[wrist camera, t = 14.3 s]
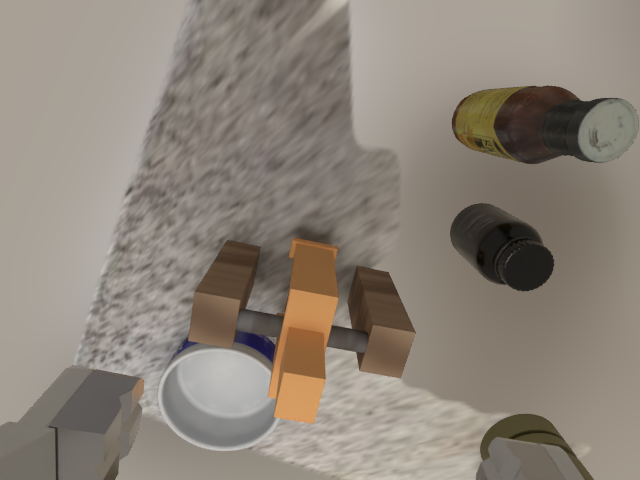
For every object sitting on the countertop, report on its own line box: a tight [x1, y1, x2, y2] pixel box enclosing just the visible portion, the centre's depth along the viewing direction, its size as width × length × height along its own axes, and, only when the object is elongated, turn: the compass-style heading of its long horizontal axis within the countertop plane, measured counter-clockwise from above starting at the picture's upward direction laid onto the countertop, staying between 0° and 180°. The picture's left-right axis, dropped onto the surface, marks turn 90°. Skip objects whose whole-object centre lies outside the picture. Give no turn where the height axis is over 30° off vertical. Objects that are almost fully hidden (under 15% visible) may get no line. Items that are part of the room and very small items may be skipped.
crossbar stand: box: [188, 240, 416, 378], centre depth 43 cm, size 5×20×14 cm, turn 78°
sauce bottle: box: [452, 86, 639, 164], centre depth 35 cm, size 6×6×20 cm
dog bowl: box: [157, 331, 281, 451], centre depth 52 cm, size 15×15×6 cm
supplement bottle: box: [450, 203, 554, 291], centre depth 43 cm, size 7×7×12 cm
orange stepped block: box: [268, 238, 339, 424], centre depth 38 cm, size 12×5×18 cm, turn 168°
